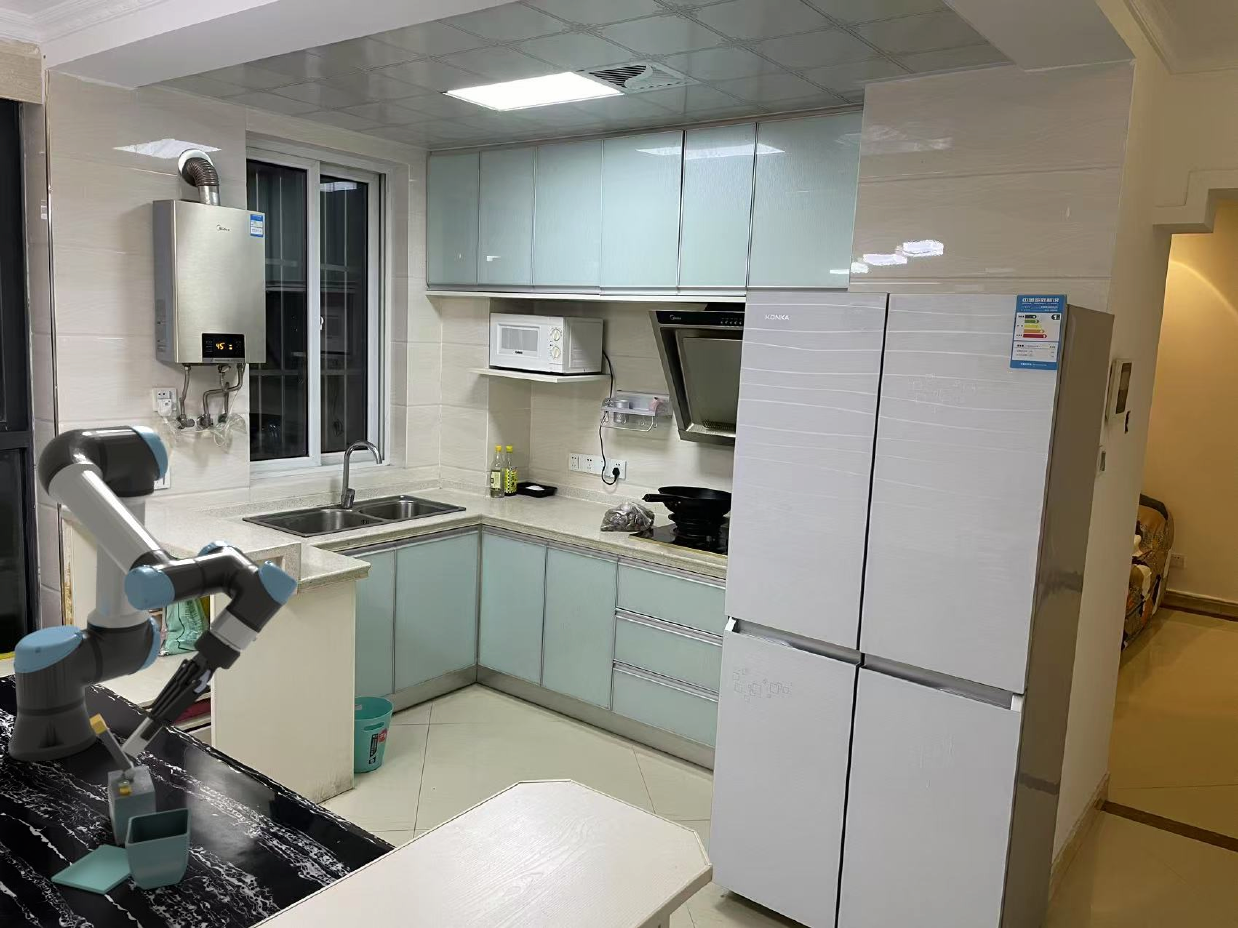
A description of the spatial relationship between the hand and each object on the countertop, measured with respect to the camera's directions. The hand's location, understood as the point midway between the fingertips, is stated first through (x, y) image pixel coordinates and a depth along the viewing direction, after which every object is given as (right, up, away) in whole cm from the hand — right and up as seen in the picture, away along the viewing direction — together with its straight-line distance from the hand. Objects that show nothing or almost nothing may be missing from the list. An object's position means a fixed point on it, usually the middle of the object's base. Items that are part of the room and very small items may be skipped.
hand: (128, 752), depth 158 cm
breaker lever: (-1, -4, +2) cm, 4 cm away
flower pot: (+13, -16, -14) cm, 24 cm away
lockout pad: (+3, -15, -12) cm, 19 cm away
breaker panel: (0, -13, +1) cm, 13 cm away
